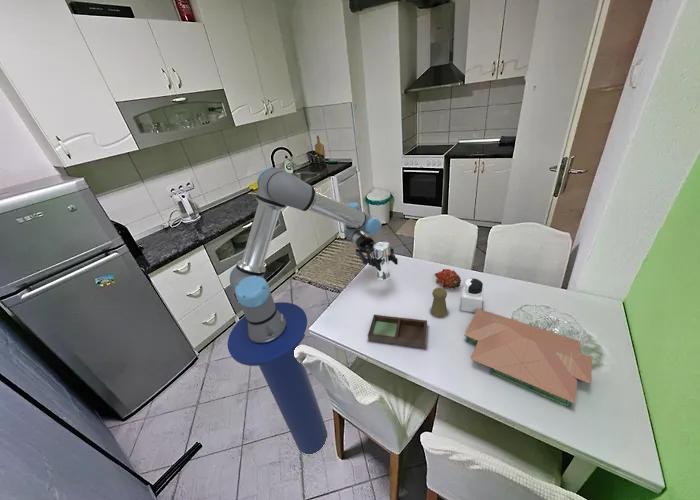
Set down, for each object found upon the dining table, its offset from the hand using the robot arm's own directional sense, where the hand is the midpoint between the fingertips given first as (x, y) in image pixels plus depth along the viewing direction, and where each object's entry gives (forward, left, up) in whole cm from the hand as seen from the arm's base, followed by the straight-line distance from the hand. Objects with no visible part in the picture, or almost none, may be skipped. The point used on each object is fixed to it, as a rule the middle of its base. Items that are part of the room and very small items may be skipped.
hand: (388, 264), depth 109 cm
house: (+45, -21, -18) cm, 52 cm away
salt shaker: (+20, -5, -18) cm, 27 cm away
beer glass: (-3, +4, -9) cm, 10 cm away
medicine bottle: (+32, 0, -18) cm, 36 cm away
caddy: (+6, -19, -18) cm, 26 cm away
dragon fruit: (+23, +12, -18) cm, 31 cm away
